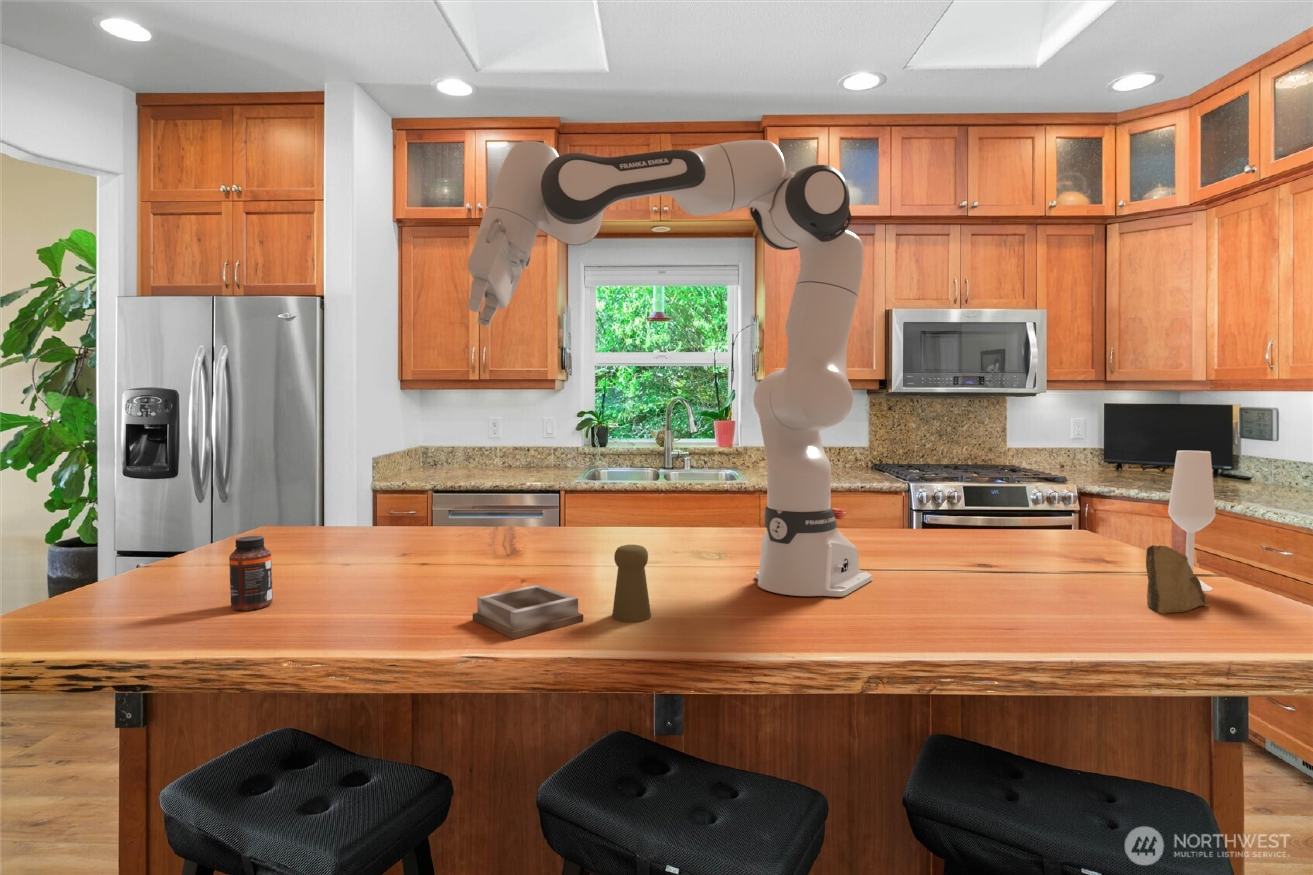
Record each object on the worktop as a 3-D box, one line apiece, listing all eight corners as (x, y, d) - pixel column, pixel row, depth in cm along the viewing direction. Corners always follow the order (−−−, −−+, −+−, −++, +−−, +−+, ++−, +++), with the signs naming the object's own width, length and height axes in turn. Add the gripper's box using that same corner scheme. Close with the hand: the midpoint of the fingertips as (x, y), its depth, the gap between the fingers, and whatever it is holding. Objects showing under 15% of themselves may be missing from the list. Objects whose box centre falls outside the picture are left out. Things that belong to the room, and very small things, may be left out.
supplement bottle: (281, 603, 116) (279, 535, 116) (247, 613, 111) (244, 542, 110) (257, 599, 119) (254, 533, 118) (222, 609, 114) (220, 539, 113)
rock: (1193, 584, 118) (1127, 573, 120) (1219, 550, 112) (1150, 540, 114) (1215, 639, 110) (1145, 626, 112) (1245, 606, 105) (1170, 593, 106)
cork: (646, 623, 106) (646, 550, 105) (607, 620, 107) (606, 548, 106) (654, 611, 112) (654, 542, 111) (617, 609, 113) (617, 541, 112)
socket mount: (539, 604, 116) (539, 583, 115) (583, 621, 107) (583, 598, 106) (472, 619, 108) (472, 597, 107) (513, 639, 99) (513, 614, 98)
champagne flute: (1220, 588, 124) (1226, 452, 123) (1199, 593, 121) (1204, 453, 120) (1178, 579, 130) (1183, 449, 129) (1157, 583, 127) (1161, 450, 126)
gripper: (517, 219, 104) (487, 307, 102) (530, 264, 124) (505, 338, 123) (476, 205, 103) (444, 293, 102) (496, 253, 124) (470, 326, 122)
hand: (478, 318), depth 112 cm, fingers open, 8 cm apart
